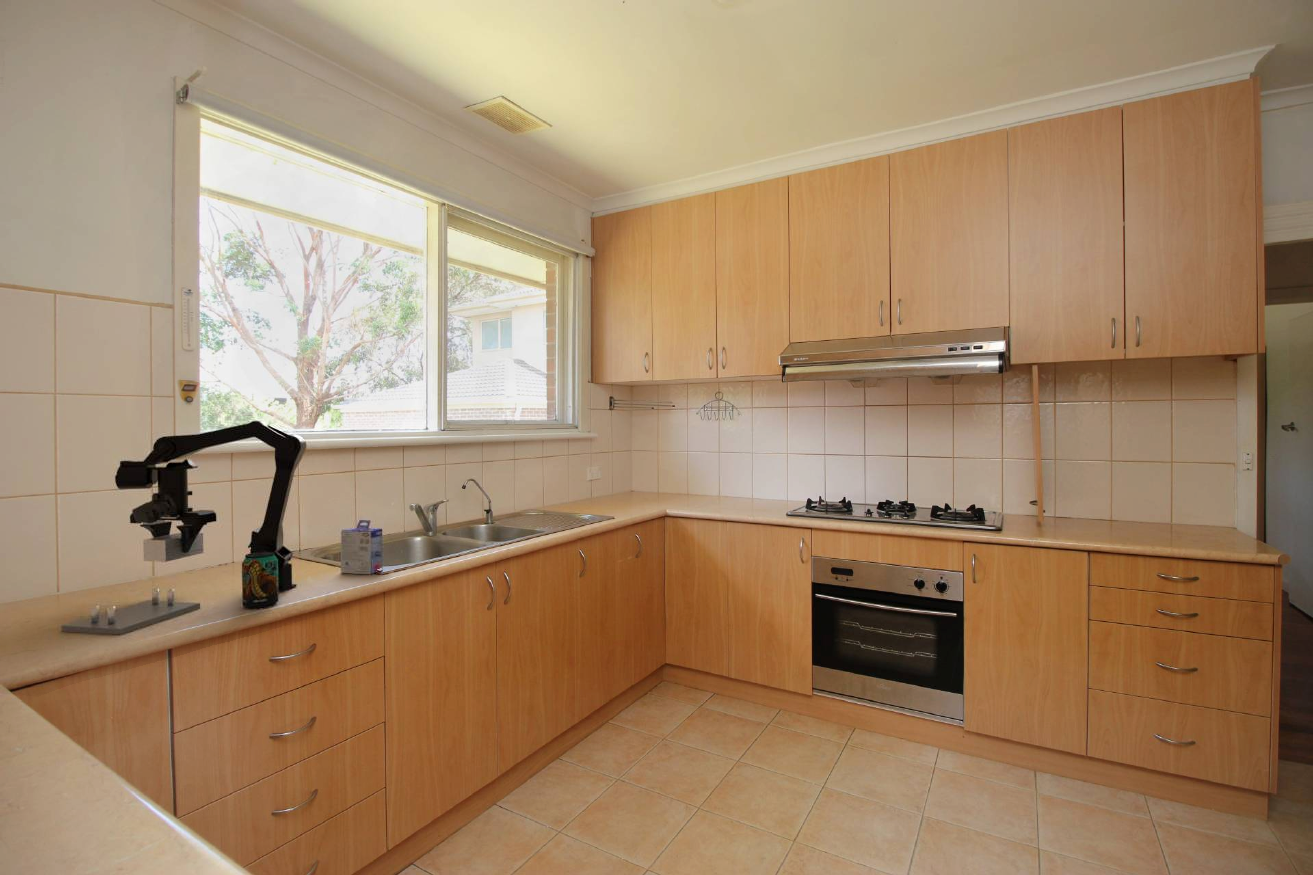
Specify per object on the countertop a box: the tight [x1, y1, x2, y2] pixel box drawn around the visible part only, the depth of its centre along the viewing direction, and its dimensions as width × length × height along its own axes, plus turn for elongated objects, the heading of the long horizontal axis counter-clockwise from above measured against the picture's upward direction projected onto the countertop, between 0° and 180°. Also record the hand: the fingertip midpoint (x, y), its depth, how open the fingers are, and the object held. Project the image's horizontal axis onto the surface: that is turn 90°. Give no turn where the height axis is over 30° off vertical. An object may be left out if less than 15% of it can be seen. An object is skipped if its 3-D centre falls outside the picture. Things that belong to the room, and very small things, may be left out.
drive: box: [142, 532, 204, 563], centre depth 150 cm, size 6×10×5 cm, turn 171°
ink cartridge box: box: [340, 519, 383, 575], centre depth 175 cm, size 10×6×14 cm, turn 78°
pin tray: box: [60, 587, 201, 635], centre depth 133 cm, size 14×18×5 cm
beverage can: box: [241, 552, 280, 610], centre depth 143 cm, size 7×7×12 cm
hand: (174, 552), depth 150 cm, fingers closed on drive, 6 cm apart
